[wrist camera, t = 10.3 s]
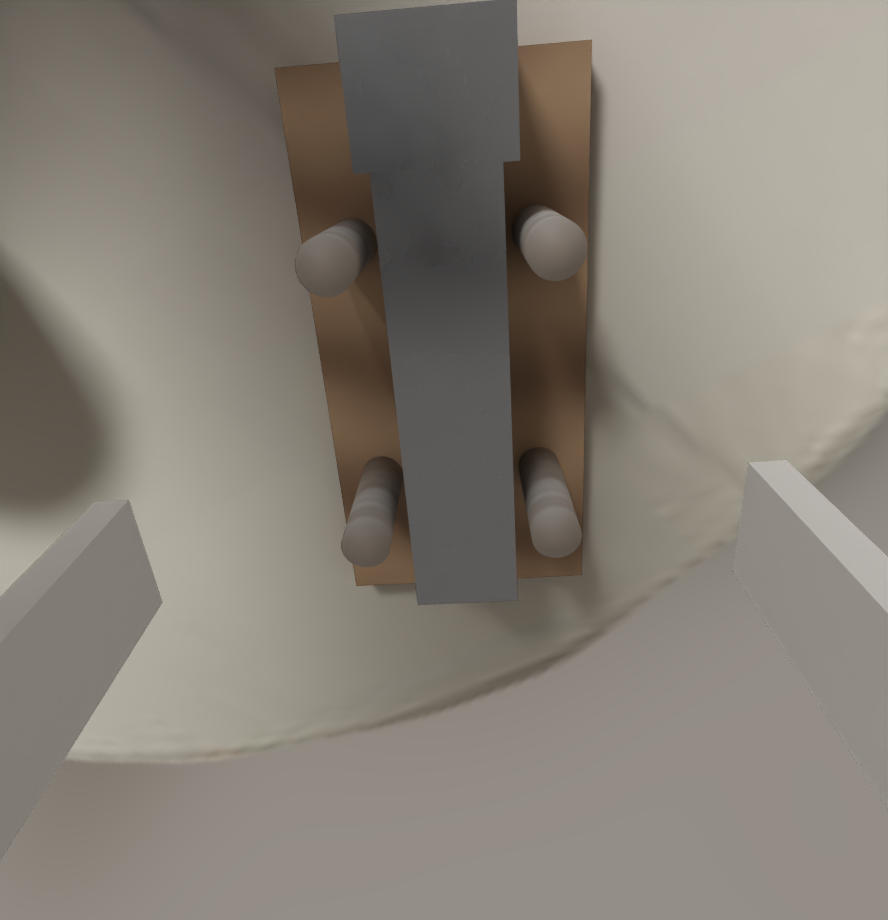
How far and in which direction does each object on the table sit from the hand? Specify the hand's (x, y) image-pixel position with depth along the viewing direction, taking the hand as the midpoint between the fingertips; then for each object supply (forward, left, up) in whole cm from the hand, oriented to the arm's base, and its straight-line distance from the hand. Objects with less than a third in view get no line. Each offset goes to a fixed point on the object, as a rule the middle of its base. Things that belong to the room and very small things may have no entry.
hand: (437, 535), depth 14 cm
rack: (0, 0, -16) cm, 16 cm away
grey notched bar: (-1, 0, -14) cm, 14 cm away
